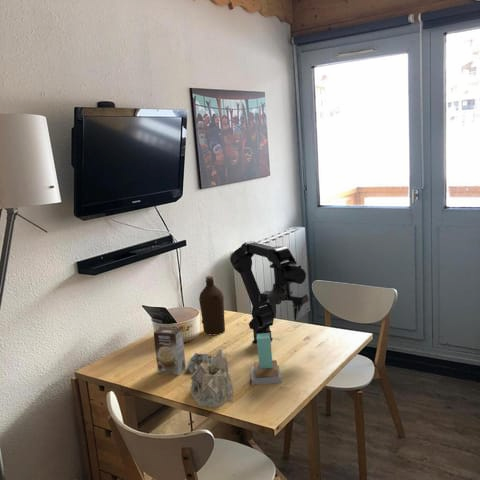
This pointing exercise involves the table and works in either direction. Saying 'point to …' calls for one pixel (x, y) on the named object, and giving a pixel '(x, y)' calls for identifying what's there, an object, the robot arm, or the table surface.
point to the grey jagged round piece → (212, 382)
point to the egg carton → (195, 359)
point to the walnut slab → (266, 370)
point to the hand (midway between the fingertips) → (285, 319)
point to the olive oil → (212, 308)
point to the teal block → (264, 350)
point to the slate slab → (264, 380)
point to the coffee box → (169, 350)
